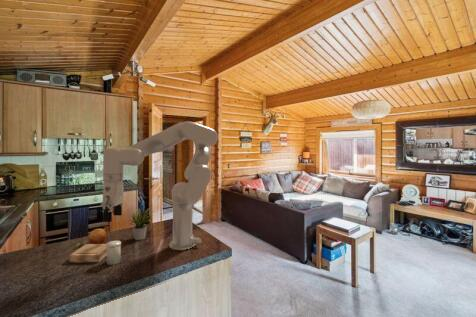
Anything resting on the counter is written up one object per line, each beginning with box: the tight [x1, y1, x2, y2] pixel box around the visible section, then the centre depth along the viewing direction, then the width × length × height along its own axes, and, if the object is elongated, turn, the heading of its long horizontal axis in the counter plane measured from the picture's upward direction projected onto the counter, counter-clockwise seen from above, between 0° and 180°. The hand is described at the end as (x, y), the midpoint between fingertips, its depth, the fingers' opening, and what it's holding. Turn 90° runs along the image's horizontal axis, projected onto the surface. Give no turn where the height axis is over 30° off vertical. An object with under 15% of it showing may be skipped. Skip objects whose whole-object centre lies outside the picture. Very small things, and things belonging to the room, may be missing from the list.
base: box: [69, 243, 107, 263], centre depth 110 cm, size 12×12×3 cm
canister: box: [105, 240, 122, 266], centre depth 104 cm, size 6×6×8 cm
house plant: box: [128, 208, 155, 241], centre depth 132 cm, size 14×14×16 cm
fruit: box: [87, 228, 107, 244], centre depth 125 cm, size 8×8×8 cm
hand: (112, 218), depth 104 cm, fingers open, 9 cm apart
